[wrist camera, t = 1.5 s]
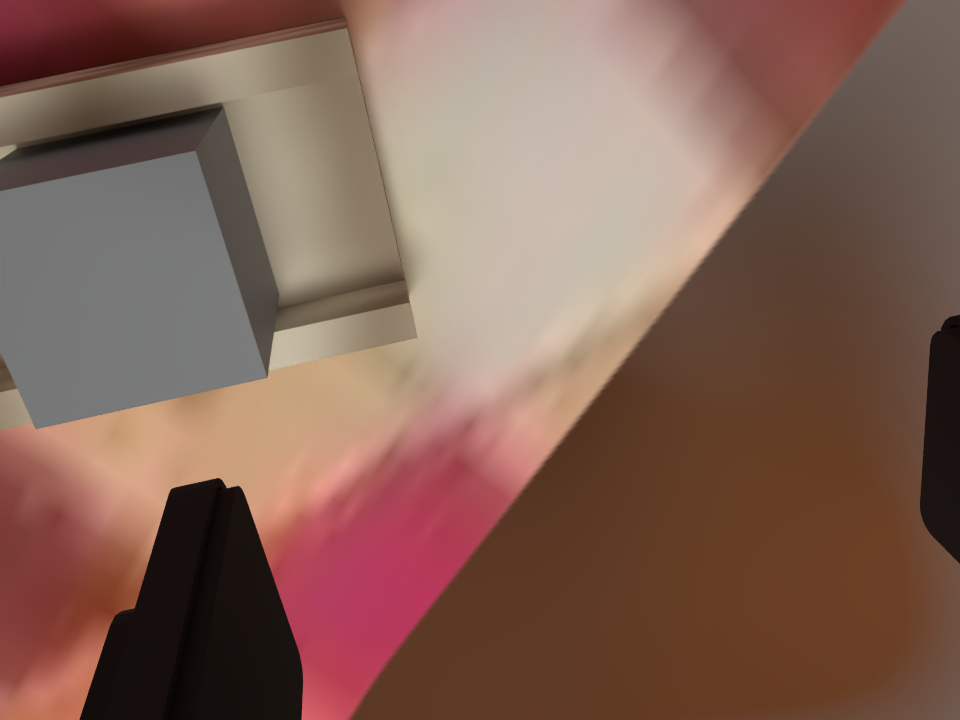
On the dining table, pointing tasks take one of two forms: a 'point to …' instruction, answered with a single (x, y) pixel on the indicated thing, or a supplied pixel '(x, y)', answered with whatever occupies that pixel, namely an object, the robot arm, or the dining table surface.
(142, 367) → the slate block
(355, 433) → the dining table surface
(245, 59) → the birch chute
